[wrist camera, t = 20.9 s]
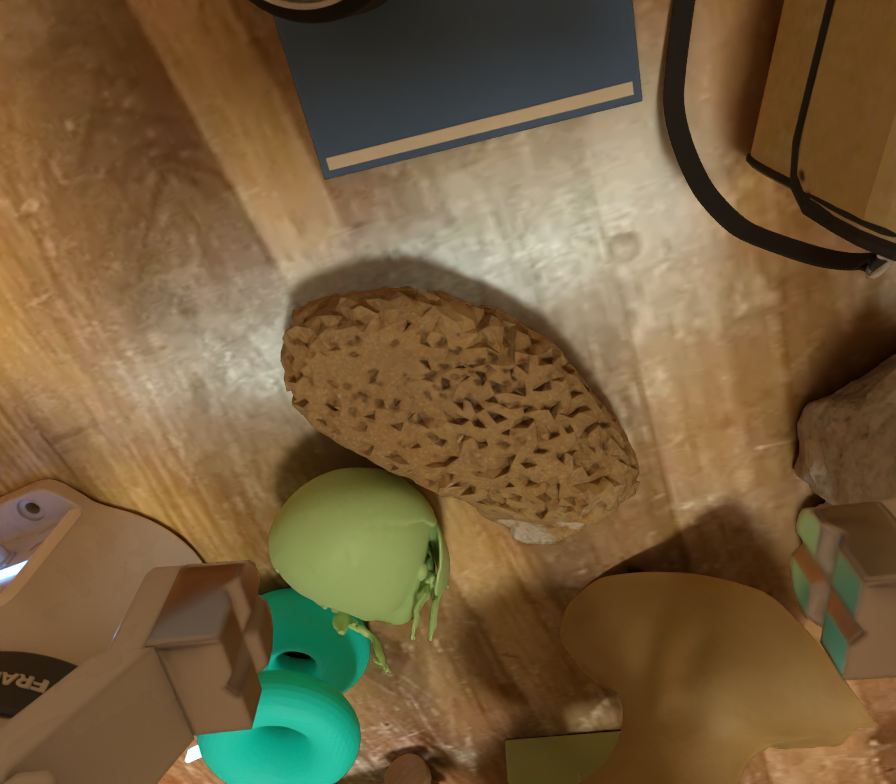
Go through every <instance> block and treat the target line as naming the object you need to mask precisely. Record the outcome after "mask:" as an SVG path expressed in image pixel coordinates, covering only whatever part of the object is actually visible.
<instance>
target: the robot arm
mask: <svg viewBox="0 0 896 784" xmlns="http://www.w3.org/2000/svg"><path fill="white" fill-rule="evenodd" d="M33 503H34V504H36V505H38V506H36V505H34V504H33ZM796 532H797V533H798V535H799V536H800V538H801V539H802V541H803V543H802V544H801V545H800V546H799V547H798V548H797V549H796V550H795V551H794V552H793V553H792V558H791V567H790V575H791V581H792V588H793V592H794V595H795V597H796V600H797V603H798V605H799V607H800V608H801V610H802V612H803V614H804V615H805V617H806V618H807V619H809V620H810V621H812V622H814V623H815V624H817V625H819V626H820V627H822V634H821V640H820V643H821V645H822V646H823V648H824V650H825V651H826V653H827V655H828V656H829V658H830V660H831V661H832V663H833V665H834V666H835V668H836V670H837V671H838V673H839V675H840V676H841V678H842V680H859V679H877V678H895V677H896V498H891V499H882V500H874V501H873V502H861V503H851V504H841V505H831V506H821V507H811V508H803V509H802V510H801V512H800V514H799V515H798V519H797V525H796ZM260 581H261V579H260V576H259V573H258V570H257V568H256V565H255V563H254V562H252V561H250V560H243V561H229V562H215V563H203V562H202V561H201V559H200V558H199V557H198V556H197V554H196V553H195V552H194V551H193V550H192V549H191V548H190V547H189V546H188V545H187V544H186V543H185V542H184V541H182V540H181V539H180V538H179V537H177V536H176V535H175V534H173V533H172V532H170V531H169V530H167V529H166V528H164V527H162V526H161V525H159V524H157V523H155V522H153V521H151V520H149V519H146V518H144V517H142V516H139V515H136V514H134V513H130V512H127V511H124V510H120V509H116V508H113V507H109V506H105V505H102V504H99V503H97V502H94V501H92V500H91V499H89V498H88V497H86V496H85V495H83V494H81V493H80V492H78V491H76V490H75V489H73V488H71V487H69V486H68V485H66V484H64V483H61V482H59V481H56V480H52V479H43V480H39V481H37V482H34V483H32V484H30V485H27V486H25V487H23V488H20V489H18V490H16V491H13V492H11V493H9V494H6V495H4V496H2V497H0V784H157V783H158V781H159V780H160V779H161V778H162V777H163V775H164V774H165V773H166V772H167V771H168V769H169V768H170V767H171V766H172V765H173V764H174V762H175V761H176V760H177V759H178V758H179V756H180V755H181V754H182V753H183V752H184V750H185V749H186V748H187V747H188V746H189V744H190V743H191V742H192V741H193V740H194V737H193V736H194V735H203V734H212V733H221V732H230V731H239V730H248V729H252V726H253V722H254V719H255V715H256V711H257V707H258V704H259V700H260V696H261V692H262V687H261V684H260V681H259V679H258V676H257V675H258V674H259V673H260V672H261V671H262V670H263V669H264V668H265V667H266V666H267V665H268V664H269V661H270V657H271V652H272V648H273V621H272V614H271V610H270V607H269V604H268V601H267V600H265V599H264V598H263V597H261V596H260V595H259V594H257V591H258V587H259V584H260ZM200 757H202V756H201V753H200V750H199V747H198V745H197V746H195V747H193V748H191V749H189V750H188V753H187V756H186V759H185V761H186V762H187V763H189V762H191V761H193V760H196V759H198V758H200Z"/></svg>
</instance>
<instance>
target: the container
mask: <svg viewBox="0 0 896 784" xmlns="http://www.w3.org/2000/svg"><path fill="white" fill-rule="evenodd" d="M620 732H621V731H616V732H602V733H590V734H578V735H565V736H552V737H539V738H526V739H514V740H505V753H506V766H507V779H508V784H578V783H579V782H581V781H582V780H583V779H585V778H586V777H587V776H589V775H590V774H591V773H593V772H594V771H595V770H596V769H597V768H598V767H600V765H601V764H603V762H604V761H605V760H606V759H607V758H608V756H609V755H610V754H611V752H612V751H613V749H614V747H615V745H616V743H617V740H618V738H619V735H620Z"/></svg>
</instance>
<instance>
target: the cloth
mask: <svg viewBox="0 0 896 784" xmlns="http://www.w3.org/2000/svg"><path fill="white" fill-rule="evenodd" d="M273 17H274V20H275V23H276V26H277V30H278V33H279V36H280V39H281V42H282V45H283V49H284V52H285V55H286V58H287V61H288V64H289V68H290V71H291V74H292V77H293V80H294V84H295V87H296V90H297V93H298V96H299V99H300V103H301V106H302V109H303V112H304V115H305V118H306V122H307V125H308V128H309V131H310V134H311V137H312V141H313V144H314V147H315V150H316V153H317V156H318V160H319V163H320V166H321V169H322V172H323V175H324V179H330V178H334V177H338V176H342V175H346V174H350V173H354V172H358V171H362V170H366V169H370V168H374V167H378V166H382V165H386V164H390V163H394V162H398V161H402V160H406V159H410V158H414V157H418V156H423V155H427V154H431V153H435V152H439V151H443V150H447V149H451V148H455V147H459V146H463V145H467V144H471V143H475V142H479V141H483V140H487V139H491V138H495V137H499V136H503V135H507V134H511V133H515V132H519V131H523V130H527V129H531V128H535V127H539V126H543V125H547V124H551V123H555V122H559V121H563V120H567V119H571V118H575V117H579V116H583V115H587V114H591V113H595V112H600V111H604V110H608V109H612V108H616V107H620V106H624V105H628V104H632V103H636V102H640V101H642V93H641V83H640V73H639V63H638V53H637V43H636V33H635V22H634V12H633V2H632V0H388V1H386V2H385V3H384V4H382V5H381V6H379V7H377V8H375V9H373V10H371V11H368V12H366V13H362V14H358V15H355V16H351V17H347V18H343V19H340V20H336V21H332V22H326V23H316V24H308V23H299V22H293V21H289V20H285V19H282V18H279V17H277V16H274V15H273Z"/></svg>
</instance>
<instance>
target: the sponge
mask: <svg viewBox="0 0 896 784" xmlns="http://www.w3.org/2000/svg"><path fill="white" fill-rule="evenodd" d="M283 341H284V343H283V346H282V350H281V363H282V366H283V368H284V369H285V375H284V381H285V386H286V390H287V391H290V390H291V391H292V393H293V399H292V405H293V406H294V407H295V408H296V409H297V410H298V411H299V412H300V413H301V414H302V415H304V417H305V418H306V419H307V420H308V421H309V422H310V424H311V425H312V426H313V427H314V428H315V429H316V430H317V431H319V432H321V433H323V434H324V435H326V436H328V437H330V438H332V439H333V440H334V441H336V442H337V443H338V444H340V445H341V446H343V447H345V448H347V449H349V450H351V451H353V452H355V453H357V454H359V455H361V456H364V457H366V458H368V459H369V460H370V461H372V462H373V463H374V464H376V465H378V466H380V467H383V468H385V469H386V470H388V471H389V472H392V473H394V474H396V475H398V476H405V477H408V478H410V479H412V480H414V482H415V484H419V485H421V486H422V487H425V488H427V489H429V490H431V491H433V492H435V493H437V494H439V495H441V496H442V497H455V498H458V499H462V500H464V501H466V502H468V503H469V504H471V505H473V506H475V507H476V508H477V510H478V512H479V513H480V514H481V515H482V516H483V517H485V518H487V519H489V520H491V521H493V522H496V523H499V524H502V525H504V526H506V527H508V528H509V529H510V533H511V535H512V537H513V539H516V540H518V541H520V542H523V543H534V544H554V543H556V542H558V541H559V540H561V539H562V538H564V537H569V536H572V535H574V534H576V533H578V532H580V531H582V530H583V529H584V528H585V527H586V526H587V525H596V524H598V523H599V522H600V521H602V520H603V519H605V518H606V517H608V516H610V515H611V514H613V513H615V512H617V509H618V505H619V503H621V502H623V501H624V500H626V499H628V498H630V497H631V496H633V495H635V493H636V491H637V489H638V486H639V483H640V482H639V481H636V479H637V477H638V474H639V466H638V462H637V458H636V455H635V452H634V450H633V448H632V447H631V445H630V443H629V441H628V438H627V436H626V434H625V432H624V431H623V429H622V427H621V425H620V424H619V422H618V421H617V419H616V418H615V416H614V415H613V414H612V413H611V412H610V411H609V410H608V409H607V408H605V406H604V405H603V404H602V402H601V401H600V400H599V399H598V398H597V397H596V396H595V395H594V394H593V393H592V391H591V390H590V388H589V387H588V385H587V384H586V382H585V381H584V379H583V377H582V376H581V375H580V374H579V373H578V372H577V371H576V370H575V368H574V367H573V366H572V365H571V364H570V363H569V361H568V359H567V358H566V356H565V355H564V354H563V353H562V352H561V350H560V349H559V348H558V347H557V346H556V345H555V344H554V343H553V342H552V341H551V340H550V339H548V338H547V337H546V336H544V335H542V334H539V333H537V332H535V331H532V330H531V329H529V328H528V327H527V326H525V325H523V324H522V323H520V322H519V321H518V320H516V319H514V318H513V317H511V316H510V315H508V314H506V313H504V312H503V311H501V310H500V309H498V308H493V307H489V306H485V305H481V306H480V307H479V308H477V307H475V305H474V303H468V302H466V301H464V300H461V299H459V298H457V297H454V296H451V295H448V294H447V293H445V292H444V291H442V290H440V291H429V290H428V291H421V290H416V289H414V288H412V287H410V286H405V287H398V288H388V287H382V288H380V289H376V290H371V291H363V292H362V291H351V292H348V293H345V294H333V295H329V296H325V297H322V298H319V299H316V300H314V301H311V302H308V303H307V304H306V305H305V306H303V307H302V308H301V309H299V310H293V314H292V320H291V324H290V328H289V329H288V330H287V331H286V332H285V333H284V336H283Z"/></svg>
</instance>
